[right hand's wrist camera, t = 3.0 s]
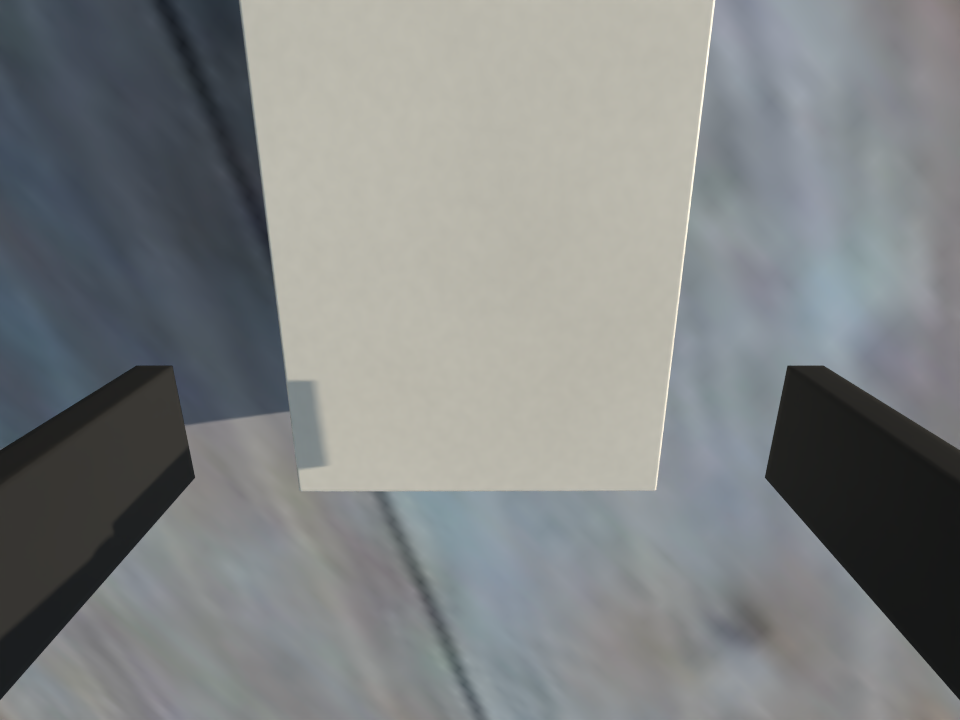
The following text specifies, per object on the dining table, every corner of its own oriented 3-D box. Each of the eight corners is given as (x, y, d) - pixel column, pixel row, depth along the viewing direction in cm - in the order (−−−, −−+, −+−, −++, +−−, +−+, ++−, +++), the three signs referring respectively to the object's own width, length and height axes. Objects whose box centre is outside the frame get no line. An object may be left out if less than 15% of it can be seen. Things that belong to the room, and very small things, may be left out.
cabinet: (321, -204, 19) (167, -562, 10) (632, -203, 19) (784, -561, 10) (364, 371, 26) (298, 492, 17) (591, 371, 26) (656, 491, 17)
